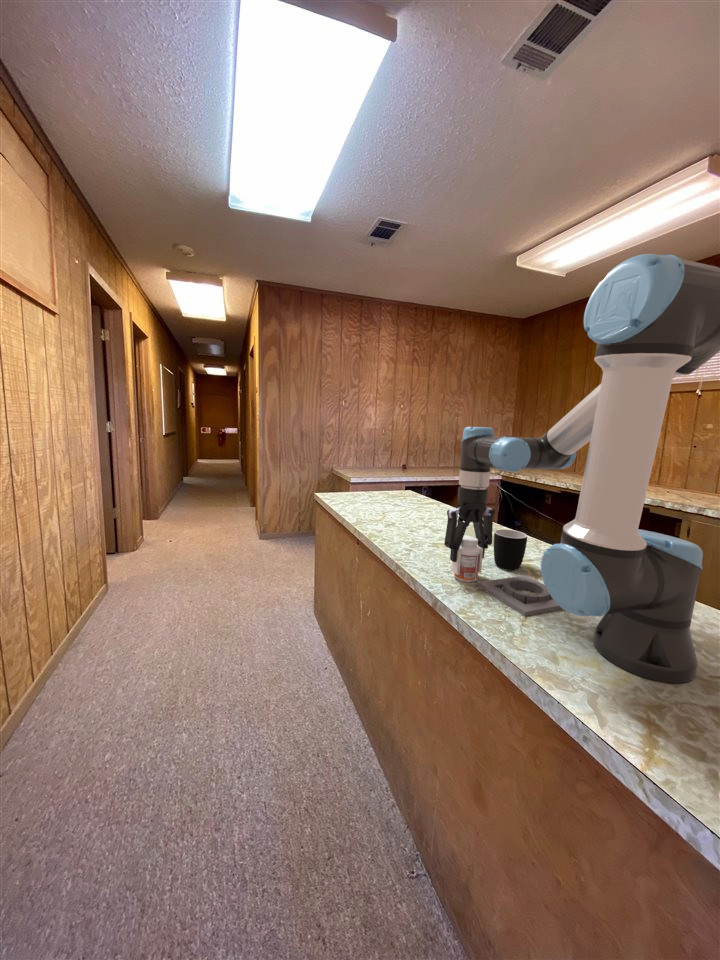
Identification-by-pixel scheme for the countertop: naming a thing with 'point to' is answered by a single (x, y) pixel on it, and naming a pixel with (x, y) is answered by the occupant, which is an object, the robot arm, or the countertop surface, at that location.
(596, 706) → the countertop surface
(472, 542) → the pill bottle
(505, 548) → the mug
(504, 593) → the grey plate with hole
